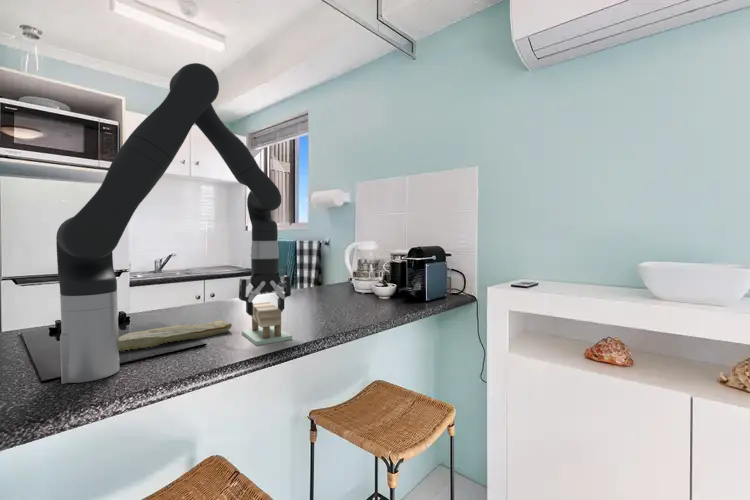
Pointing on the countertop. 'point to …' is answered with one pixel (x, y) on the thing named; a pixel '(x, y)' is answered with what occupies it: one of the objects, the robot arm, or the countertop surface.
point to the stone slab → (171, 334)
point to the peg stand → (265, 334)
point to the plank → (266, 314)
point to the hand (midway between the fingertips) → (265, 313)
